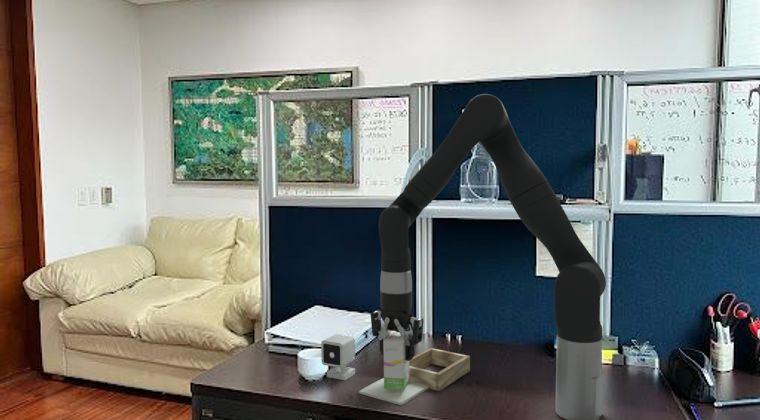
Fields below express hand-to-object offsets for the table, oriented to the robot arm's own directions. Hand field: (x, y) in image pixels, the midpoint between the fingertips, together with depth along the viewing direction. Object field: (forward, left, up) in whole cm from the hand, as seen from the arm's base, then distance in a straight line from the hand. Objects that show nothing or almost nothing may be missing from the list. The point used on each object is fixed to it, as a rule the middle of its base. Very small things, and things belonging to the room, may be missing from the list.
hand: (396, 357), depth 141 cm
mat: (0, 0, -8) cm, 8 cm away
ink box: (0, 0, -7) cm, 7 cm away
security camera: (+17, +1, -8) cm, 19 cm away
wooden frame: (-3, -13, -8) cm, 16 cm away
